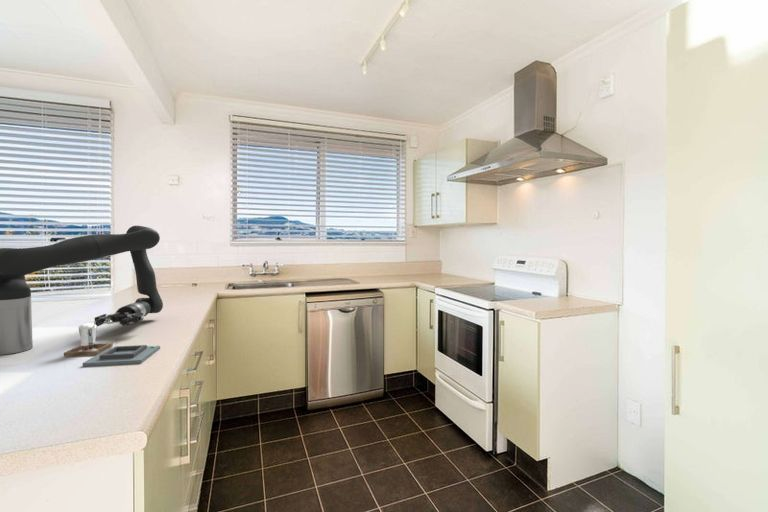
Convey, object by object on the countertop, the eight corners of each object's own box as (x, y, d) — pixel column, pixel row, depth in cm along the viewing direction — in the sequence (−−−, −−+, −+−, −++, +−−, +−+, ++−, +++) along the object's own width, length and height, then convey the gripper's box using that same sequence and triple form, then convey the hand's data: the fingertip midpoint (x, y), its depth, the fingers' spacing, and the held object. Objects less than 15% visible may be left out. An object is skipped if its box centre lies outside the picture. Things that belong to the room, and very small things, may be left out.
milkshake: (88, 354, 112) (88, 323, 111) (75, 352, 113) (74, 322, 112) (103, 349, 116) (102, 319, 115) (89, 348, 117) (89, 318, 117)
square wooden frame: (63, 356, 109) (63, 352, 109) (81, 347, 118) (81, 344, 118) (97, 355, 111) (97, 351, 111) (112, 346, 120) (112, 342, 120)
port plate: (82, 366, 101) (82, 359, 101) (108, 351, 115) (108, 344, 115) (141, 363, 104) (141, 355, 104) (160, 348, 118) (160, 342, 118)
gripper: (110, 304, 140) (86, 313, 124) (150, 303, 143) (131, 312, 127) (111, 323, 140) (86, 334, 125) (151, 321, 143) (132, 332, 128)
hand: (109, 323), depth 126 cm, fingers open, 8 cm apart
